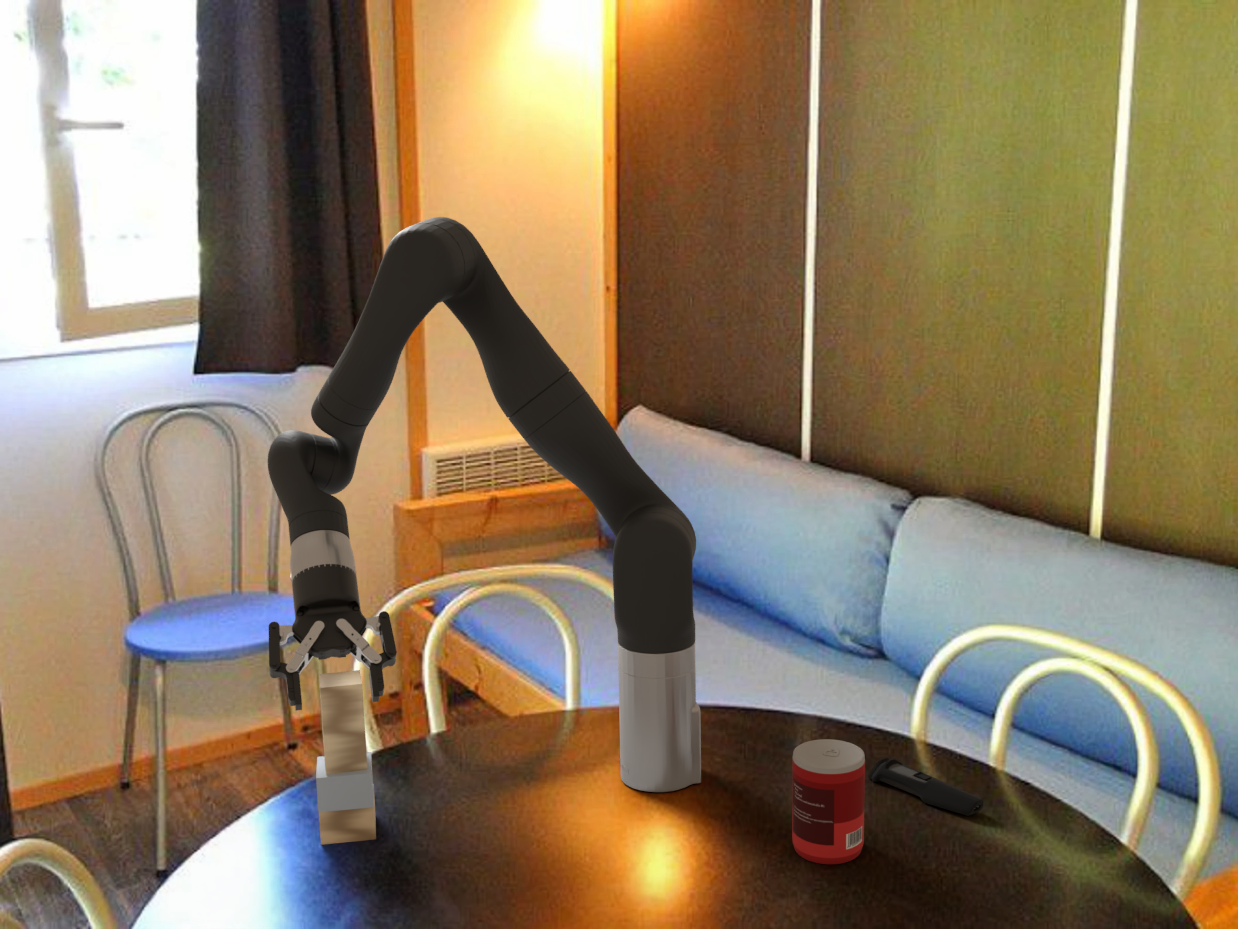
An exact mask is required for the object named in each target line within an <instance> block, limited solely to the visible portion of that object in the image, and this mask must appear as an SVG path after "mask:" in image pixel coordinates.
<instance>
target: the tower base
mask: <svg viewBox="0 0 1238 929" xmlns="http://www.w3.org/2000/svg"><path fill="white" fill-rule="evenodd" d="M373 798H374V807H370V808H360V809H350V810H339V811H329V812H319V813H318V819H319V836H320V845H331V844H341V843H350V842H352V843H353V842H363V841H372V840H377V823H376V822H377V820H376V817H377V816H376V802H375V801H376V800H375V798H376V797H375V784H374V783H373Z"/></svg>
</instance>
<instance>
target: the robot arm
mask: <svg viewBox="0 0 1238 929" xmlns="http://www.w3.org/2000/svg"><path fill="white" fill-rule="evenodd" d="M439 303H443V304H444V305H445V306H446V307H447V308H448V310H449V311H451V313H452V314H453V316H455V318H456V319H457V320H458V322H460V324H461V325H462V326H463V328H464V329H465V330H466V332H467V333H468V334H469V337H470V338H471V340H472V341H473V343H474V345H475V348H476V350H477V352H478V355H479V358H480V360H481V363H482V365H483V369H484V373H485V375H486V378H487V380H488V383H489V387H490V389H491V393H492V394H493V396H494V399H495V401H496V403H497V404H498V406H499V407H500V409H501V411H502V412H503V413H504V415H505V416H506V418H507V419H508V420H509V422H510V423H511V425H512V426H513V427H514V428H515V430H516V431H517V432H518V434H519V435H521V437H522V439H523V440H524V441H525V442H526V444H528V446H529V447H530V449H532V451H533V452H535V454H536V455H538V456H539V457H540V458H541V459H542V460H543V461H544V462H546V464H547V465H549V466H550V467H551V468H553V469H554V470H555V471H556V472H557V473H559V474H560V475H562V476H563V477H564V478H565V479H567V480H568V481H569V482H571V483H572V484H573V485H574V486H576V487H577V489H579V490H580V491H581V492H582V493H583V494H584V495H585V496H586V497H587V498H588V499H589V500H590V502H591V503H592V504H593V505H594V507H595V508H596V510H597V512H599V514H600V515H601V517H602V518H603V520H604V521H605V523H606V524H607V526H608V528H609V529H610V531H611V532H612V534H613V535H614V537H615V541H614V542H613V544H614V545H613V549H612V585H613V586H612V587H613V588H612V589H613V591H612V592H613V614H614V622H615V626H616V629H617V630H616V631H617V657H618V658H617V659H618V660H617V664H618V666H617V667H618V669H617V671H618V710H619V711H618V714H619V715H618V716H619V717H618V718H619V756H620V757H619V766H620V779H621V782H623V784H625V785H626V786H627V787H630V788H632V789H635V790H638V791H644V792H648V793H649V792H652V793H667V792H674V791H678V790H681V789H684V788H686V787H688V786H690V785H693V784H701V783H702V756H701V755H702V754H701V753H702V750H701V748H702V746H701V745H702V742H701V738H702V735H701V734H702V733H701V723H702V722H701V706H699V704H698V703H697V694H696V693H697V689H696V686H697V685H696V681H697V680H696V677H697V676H696V674H697V673H696V672H697V671H696V621H695V615H694V598H693V597H694V594H693V592H694V589H693V584H694V583H693V578H694V577H693V568H694V567H693V565H694V564H693V560H694V557H695V553H696V549H697V537H696V531H695V529H694V527H693V524H692V523H691V521H690V519H689V518H688V516H687V515H686V514H685V513H684V512H683V511H682V509H681V508H680V507H679V506H678V505H676V503H675V502H674V501H673V500H672V499H671V498H670V497H669V496H668V495H667V494H666V493H665V492H664V491H663V490H662V489H661V488H660V487H659V486H658V485H657V484H656V482H655V481H654V480H653V479H652V478H651V477H650V476H649V475H648V474H647V472H645V471H644V469H642V467H641V466H640V465H639V464H638V462H637V461H636V460H635V459H634V457H633V456H632V454H631V453H630V451H629V450H628V449H627V448H626V446H625V444H624V443H623V441H622V440H621V439H620V437H619V435H618V434H617V432H616V431H615V429H614V427H613V426H612V425H611V424H610V422H609V421H608V418H606V416H605V415H604V414H603V412H602V411H601V410H600V408H599V407H598V406H597V404H596V403H595V401H594V400H593V398H592V397H591V396H590V394H589V393H588V391H586V388H585V387H584V386H583V385H582V383H581V382H580V381H579V380H578V379H577V377H576V376H575V373H573V372H572V371H571V369H570V368H569V367H568V365H567V364H566V363H565V362H564V361H563V360H562V358H561V357H560V356H559V355H558V353H557V352H556V351H555V350H554V349H553V346H551V344H550V343H549V342H548V341H547V339H546V338H545V337H544V335H543V334H542V332H541V331H540V330H539V329H538V328H537V326H536V325H535V324H534V323H533V321H532V319H531V318H530V317H529V316H528V315H527V314H526V313H525V312H524V310H523V309H522V307H521V306H520V305H519V304H518V302H517V301H516V299H515V298H514V296H513V295H512V293H511V291H510V290H509V289H508V287H507V285H506V284H505V282H504V280H503V279H502V278H501V276H500V274H499V272H498V271H497V269H496V268H495V266H494V264H493V263H492V261H491V259H490V258H489V256H488V255H487V253H486V251H485V249H483V246H482V245H481V244H480V242H479V241H478V240H477V238H476V237H475V235H474V234H473V232H471V230H469V228H468V227H466V226H465V225H464V224H463V223H461V222H459V221H457V220H456V219H453V218H450V217H445V216H436V217H435V216H434V217H430V218H428V219H425V220H422V221H420V222H416V223H415V224H412V225H410V226H407V227H405V228H404V229H401V230H400V231H399V232H397V234H395V236H394V237H393V238H392V239H391V240H390V241H389V243H388V245H387V248H385V252H384V254H383V257H382V260H381V262H380V264H379V267H378V270H377V273H376V276H375V278H374V281H373V285H372V287H371V291H370V293H369V295H368V298H367V301H366V303H365V305H364V308H363V310H362V313H361V314H360V317H359V320H358V322H357V324H356V326H355V328H354V330H353V332H352V334H351V336H350V337H349V338H350V339H349V340H348V342H347V343H346V345H345V347H344V350H343V351H342V353H341V354H340V356H339V358H338V360H337V362H336V363H335V365H334V367H333V368H332V370H331V372H330V373H329V375H328V376H327V378H326V380H325V381H324V384H323V385H322V386H321V389H320V391H319V392H318V394H317V395H316V397H315V399H314V401H313V403H312V405H311V409H310V415H311V420H312V421H313V423H314V425H316V426H317V427H318V429H320V431H322V432H323V433H324V434H326V435H327V436H330V437H327V436H326V437H325V436H322V435H317V434H313V433H309V432H304V431H300V430H294V429H293V430H292V429H290V430H285V431H283V432H280V433H279V434H278V435H277V436H276V437H275V438H274V439H273V441H272V442H271V444H270V446H269V450H268V455H267V470H268V475H269V478H270V481H271V484H272V487H273V489H274V492H275V494H276V496H277V498H278V500H279V502H280V505H281V508H282V510H283V512H284V515H285V516H286V519H287V522H288V532H289V534H288V535H289V543H290V557H289V559H290V561H289V562H290V563H289V567H290V583H291V588H292V589H291V590H292V598H293V608H294V609H293V610H294V622H293V623H292V624H288V625H287V624H286V625H285V624H284V625H280V623H279V622H277V621H272V622H270V623H269V624H268V665H269V666H268V668H269V670H268V672H269V677H270V678H271V679H278V678H280V679H283V680H285V683H286V690H287V691H286V692H287V699H288V702H287V703H288V704H289V705H290V707H294V708H295V711H296V712H297V711H302V710H303V701H302V700H303V699H302V698H303V697H302V689H301V680H300V675H301V673H302V671H303V670H304V669H305V668H307V666H308V665H309V663H310V662H311V661H312V660H313V658H316V659H317V660H319V661H320V660H321V661H322V660H327V659H329V658H339V659H340V658H346V657H347V656H348V655H349V654H350V655H351V656H352V657H353V658H354V659H355V660H357V662H359V663H362V664H363V665H364V666H365V667H366V668H367V669H369V671H368V677H369V686H370V694H371V702H372V703H378V702H379V701H380V697H383V695H384V692H385V681H384V673H383V670H384V669H385V668H386V667H393V666H394V665H396V662H397V661H396V660H397V659H396V657H397V655H398V654H397V653H398V652H397V651H398V650H397V648H396V647H397V646H396V643H395V642H396V641H395V638H394V637H395V636H394V632H393V627H392V623H391V618H390V614H389V612H388V611H381V612H379V613H378V615H375V616H371V617H365V615H363V612H362V611H361V602H360V601H361V600H360V594H359V586H358V578H357V570H356V561H355V556H354V552H353V548H352V546H351V541H350V540H351V539H350V531H349V524H348V523H349V521H348V514H347V509H346V508H345V505H344V503H343V502H342V501H341V500H340V499H338V498H337V496H334V495H336V494H338V493H340V492H342V491H343V490H345V489H346V488H347V487H348V486H349V485H350V483H351V482H352V480H353V478H354V475H355V469H356V466H357V460H358V456H359V452H360V450H361V449H360V448H361V445H362V442H363V439H364V435H365V432H366V430H367V428H368V426H369V424H370V422H371V421H372V419H373V417H375V416H374V415H375V414H376V412H377V411H378V409H379V408H380V406H381V404H382V403H383V402H384V400H385V397H386V396H387V393H388V392H389V390H390V388H391V385H392V383H393V380H394V378H395V374H396V371H397V368H398V364H399V361H400V357H401V355H402V352H403V350H404V348H405V346H406V344H407V342H408V341H409V339H410V338H411V336H412V335H413V333H414V331H415V330H416V329H417V327H419V325H420V324H421V322H422V321H423V320H424V319H425V318H426V316H428V315H429V313H430V312H431V311H432V310H433V309H434V308H435V306H437V305H438V304H439ZM367 629H370V630H371V631H372V634H374V635H375V636H379V638H380V643H381V648H382V652H381V653H378V652H377V651H376V650H375V649H374V648H373V647H372V646H371V645H370V643H369V642H368V641H367V639H365V637H363V635H364V634H365V633H366V630H367ZM290 637H293V639H294V640H295V641H296V642H298V644H299V645H298V647H297V648H296V650H295V651H294V652H295V653H294V655H293V656H292V657H291V658H290V660H289V661H288V663H286V662H281V646H284V645H286V644H287V642H288V638H290Z"/></svg>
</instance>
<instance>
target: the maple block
mask: <svg viewBox="0 0 1238 929" xmlns="http://www.w3.org/2000/svg"><path fill="white" fill-rule="evenodd" d="M318 681H319V682H318V685H319V697H320V700H319V701H320V712H321V714H320V715H321V727H322V741H323V743H322V744H323V745H322V746H323V756H324V760H325V770H326V774H334V773H343V772H352V771H360V770H367V753H366V752H367V741H366V722H365V707H364V706H365V705H364V688H363V681H362V674H361V670H347V671H338V672H329V673H327V672H326V673H319V674H318Z"/></svg>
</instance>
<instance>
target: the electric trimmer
mask: <svg viewBox="0 0 1238 929" xmlns="http://www.w3.org/2000/svg"><path fill="white" fill-rule="evenodd" d="M868 779H870V780H871V782H872V783H877V782H882V783H884V784H886V785H887V784H888V785H890V786H892V787H895V788H897V789H899V790H902V791H904V792H907V793H910V794H912V795H915V796H916V797H919V798H920V799H921V801H922V802H923V803H925V804H928V805H931V806H934V807H937V808H940V809H944V810H946V811H947V810H948V811H950V812H954V813H957V814H961V815H965V816H971V815H973V814H976V813H978V812H980V811H981V810H982V809H983V808H984V799H982V798H981V797H979V796H977V795H975V794H972V793H971V792H970V793H969V792H968V791H965V790H962V789H961V788H958V787H956V786H954V785H952V784H949V783H947V782H945V781H943V780H940V779H938V778H936V777H933V776H930V775H929V774H927V773H924V772H922V771H920V770H918V769H914V768H912V767H910V766H908V765H906V764H903V763H901V762H900V761H899V760H898V759H896V758H889V757H885V758H882V759H880V760H879V761H877V763H875V765H874V766H873V767H872V768H871V770H870V772H869V774H868Z"/></svg>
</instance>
